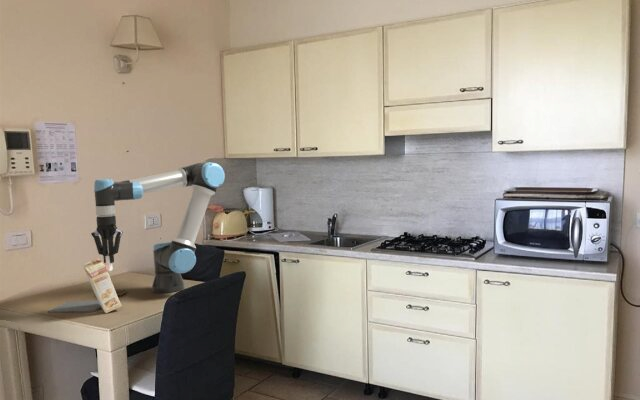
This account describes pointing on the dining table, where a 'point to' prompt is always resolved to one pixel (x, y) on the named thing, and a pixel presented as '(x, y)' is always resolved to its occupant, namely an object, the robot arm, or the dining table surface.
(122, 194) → the robot arm
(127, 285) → the dining table surface
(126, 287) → the dining table surface
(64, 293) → the dining table surface
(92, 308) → the mat
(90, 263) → the coffeecake box
